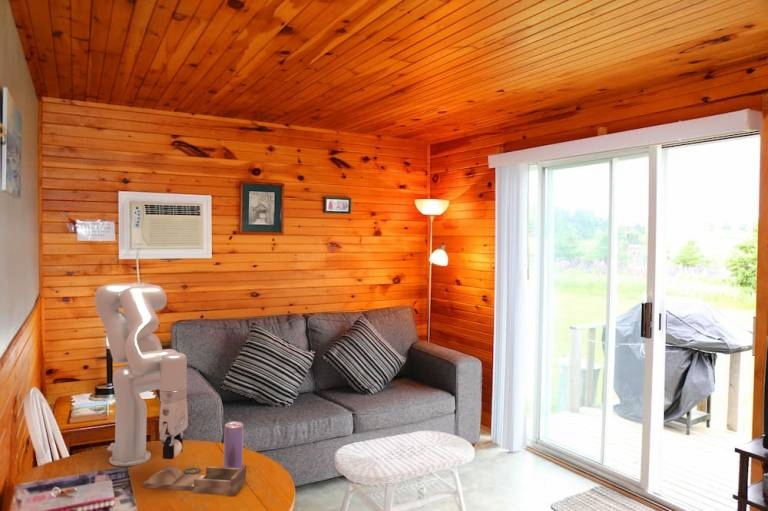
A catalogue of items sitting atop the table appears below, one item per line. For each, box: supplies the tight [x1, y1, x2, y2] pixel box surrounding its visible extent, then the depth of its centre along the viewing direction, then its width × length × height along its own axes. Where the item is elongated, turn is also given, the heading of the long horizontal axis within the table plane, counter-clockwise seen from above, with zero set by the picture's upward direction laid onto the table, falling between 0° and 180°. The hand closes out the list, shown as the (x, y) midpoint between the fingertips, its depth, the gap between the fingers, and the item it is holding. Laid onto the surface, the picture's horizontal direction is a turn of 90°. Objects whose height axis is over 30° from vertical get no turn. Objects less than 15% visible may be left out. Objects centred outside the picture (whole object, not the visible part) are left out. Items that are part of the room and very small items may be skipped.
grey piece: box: [183, 466, 202, 475], centre depth 182 cm, size 5×5×1 cm
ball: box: [173, 438, 183, 457], centre depth 172 cm, size 5×5×5 cm
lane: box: [142, 465, 247, 497], centre depth 172 cm, size 28×10×9 cm, turn 85°
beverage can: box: [222, 421, 244, 468], centre depth 183 cm, size 6×6×15 cm
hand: (172, 454), depth 172 cm, fingers closed on ball, 4 cm apart
